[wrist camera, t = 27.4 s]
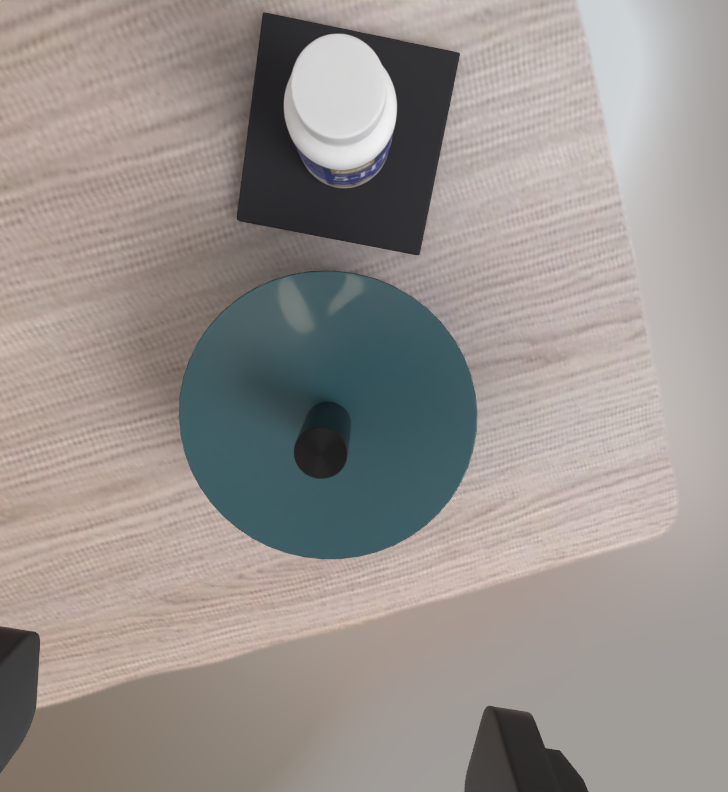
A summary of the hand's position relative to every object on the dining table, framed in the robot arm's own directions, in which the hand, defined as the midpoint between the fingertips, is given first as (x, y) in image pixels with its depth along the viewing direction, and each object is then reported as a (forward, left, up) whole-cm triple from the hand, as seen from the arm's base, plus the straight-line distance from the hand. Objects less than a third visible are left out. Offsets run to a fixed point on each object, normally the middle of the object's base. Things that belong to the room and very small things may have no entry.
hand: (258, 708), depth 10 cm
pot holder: (-15, -2, -26) cm, 30 cm away
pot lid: (0, 0, -20) cm, 20 cm away
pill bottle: (-15, -2, -25) cm, 29 cm away
